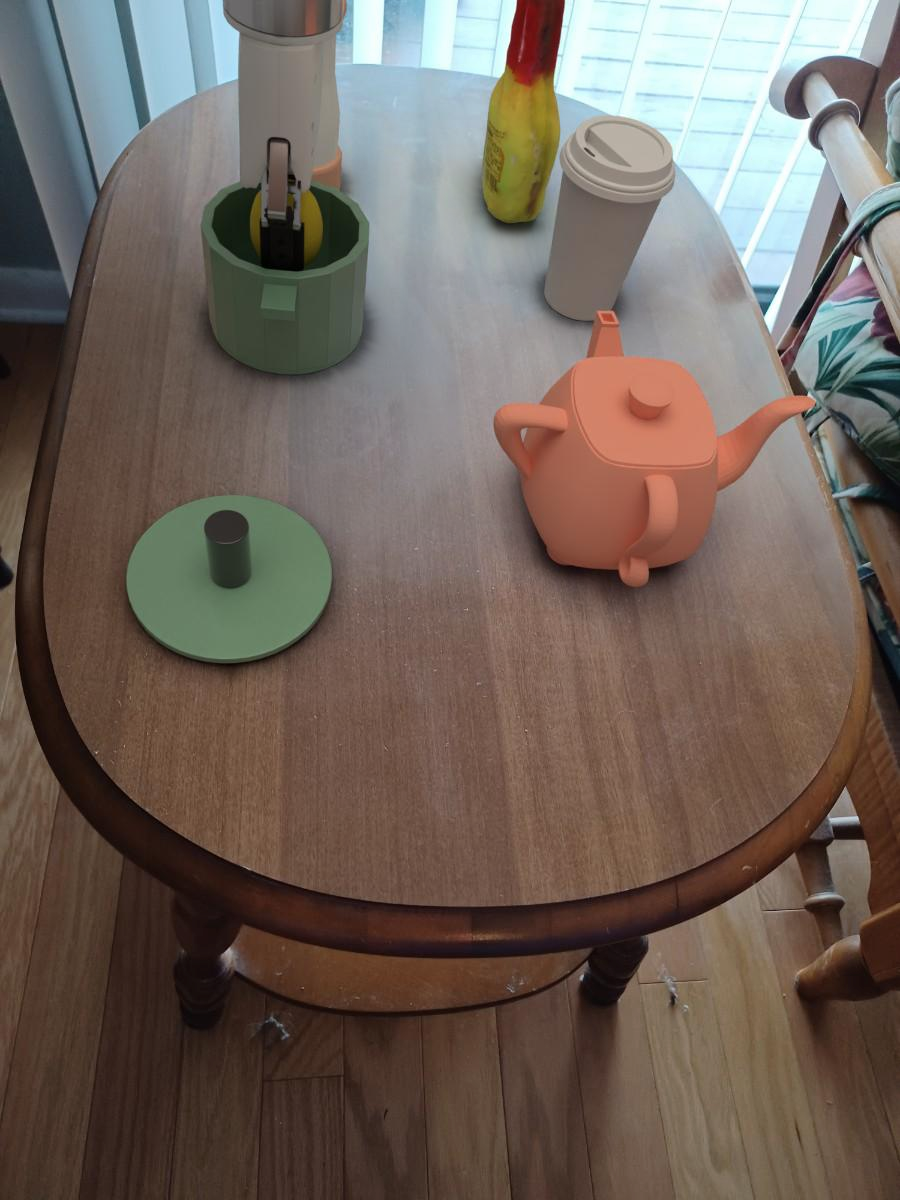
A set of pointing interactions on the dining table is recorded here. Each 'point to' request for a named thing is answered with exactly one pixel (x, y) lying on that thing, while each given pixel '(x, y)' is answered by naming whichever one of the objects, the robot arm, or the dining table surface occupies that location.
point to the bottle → (524, 115)
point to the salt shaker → (329, 122)
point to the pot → (285, 286)
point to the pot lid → (229, 579)
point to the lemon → (308, 215)
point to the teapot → (627, 458)
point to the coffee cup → (604, 210)
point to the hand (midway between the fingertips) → (285, 240)
